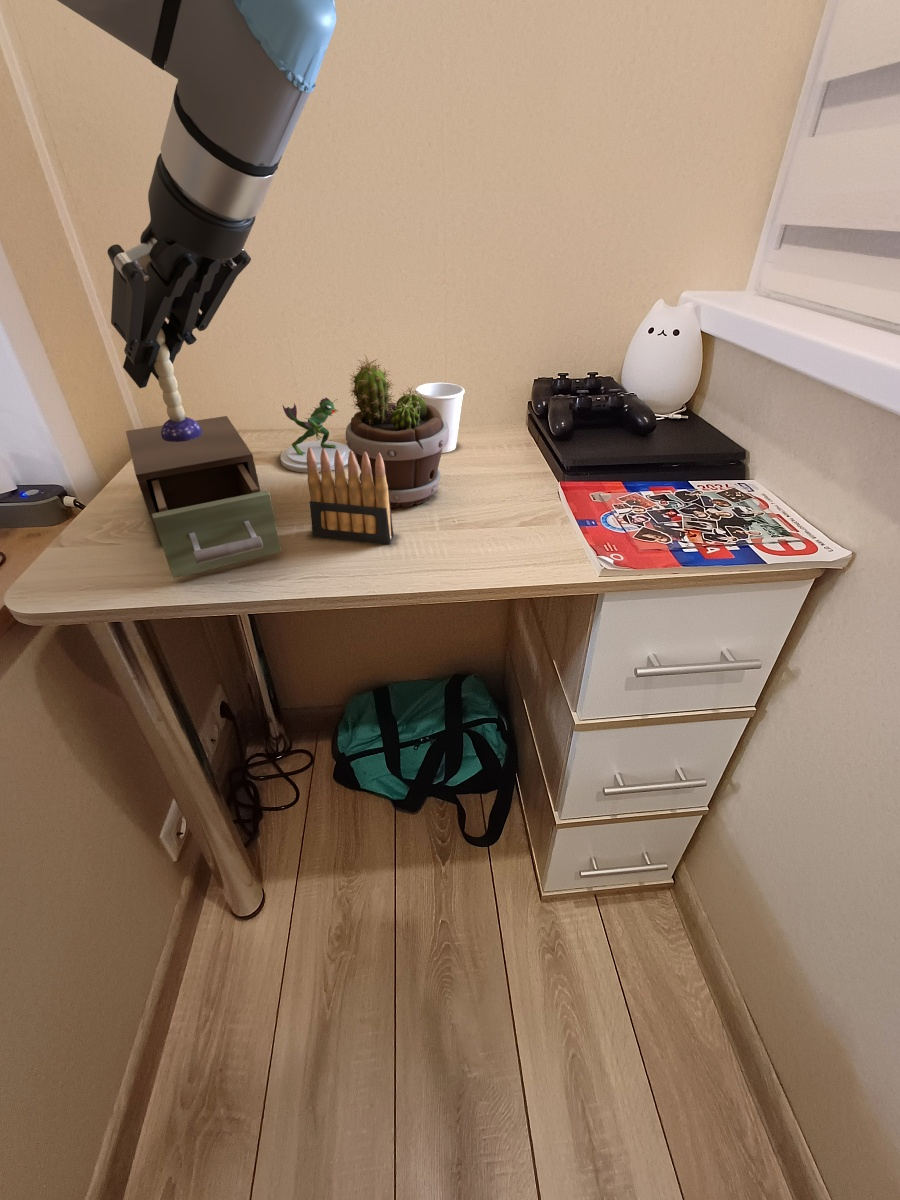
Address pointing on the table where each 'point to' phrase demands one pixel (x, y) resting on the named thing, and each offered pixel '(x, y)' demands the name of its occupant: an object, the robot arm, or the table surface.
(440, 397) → the dixie cup
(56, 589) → the table surface
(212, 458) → the cabinet
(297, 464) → the monster figurine
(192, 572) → the drawer
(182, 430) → the toy lamp
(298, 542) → the table surface
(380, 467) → the ammunition clip
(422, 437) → the flowerpot
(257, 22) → the robot arm
